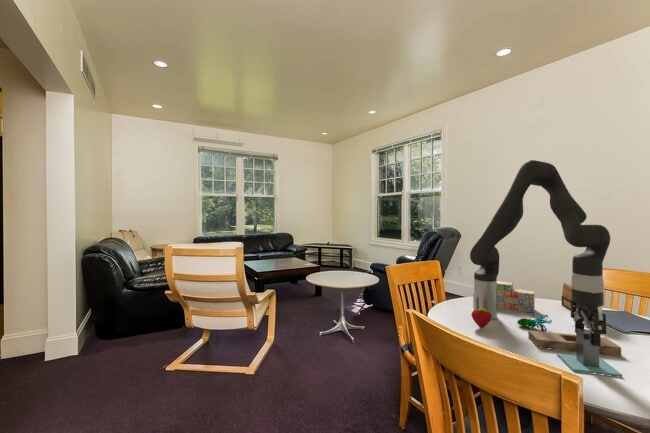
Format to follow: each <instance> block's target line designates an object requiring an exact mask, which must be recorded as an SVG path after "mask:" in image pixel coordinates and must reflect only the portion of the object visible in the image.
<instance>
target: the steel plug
mask: <svg viewBox="0 0 650 433" xmlns="http://www.w3.org/2000/svg"><path fill="white" fill-rule="evenodd" d="M590 333H591V332H590V329H588V328H587V329H585V328H584V329H576V333H575V335H576V352H575V355H576V360H578V361H579V362H580V363H581V364H582V365H583V366H591V367H599V358H600V354H599V346H592V345H591V344H590Z"/></svg>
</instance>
